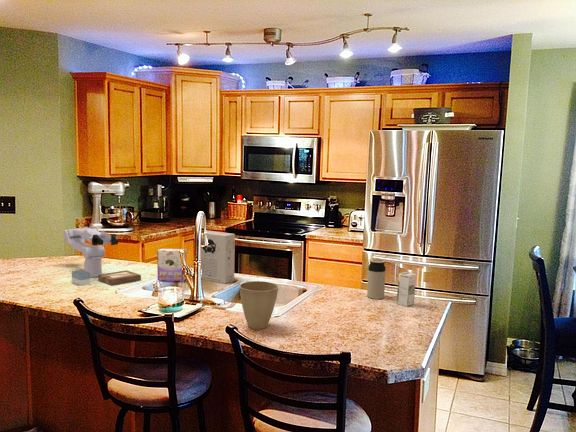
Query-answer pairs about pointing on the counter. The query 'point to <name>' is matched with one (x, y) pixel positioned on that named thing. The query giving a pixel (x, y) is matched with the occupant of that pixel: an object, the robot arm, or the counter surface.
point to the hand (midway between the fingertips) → (110, 242)
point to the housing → (81, 277)
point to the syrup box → (406, 288)
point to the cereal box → (218, 257)
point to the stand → (119, 277)
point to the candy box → (170, 265)
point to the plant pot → (258, 302)
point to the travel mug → (376, 279)
